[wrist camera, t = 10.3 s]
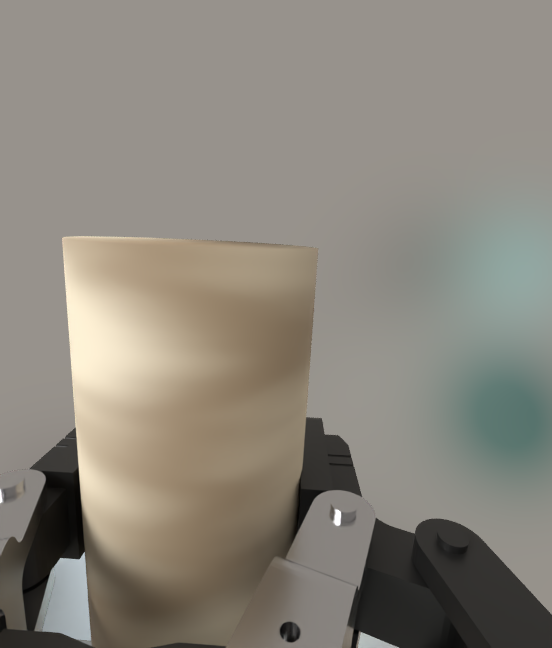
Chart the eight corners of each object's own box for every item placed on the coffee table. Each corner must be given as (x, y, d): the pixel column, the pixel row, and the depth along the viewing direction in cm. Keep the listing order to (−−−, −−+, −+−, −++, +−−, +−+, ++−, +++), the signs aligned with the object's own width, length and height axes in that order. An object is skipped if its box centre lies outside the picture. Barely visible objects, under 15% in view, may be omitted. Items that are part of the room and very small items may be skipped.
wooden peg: (61, 863, 9) (-9, 237, 6) (143, 641, 14) (128, 236, 11) (280, 885, 9) (329, 254, 6) (284, 652, 14) (311, 245, 11)
